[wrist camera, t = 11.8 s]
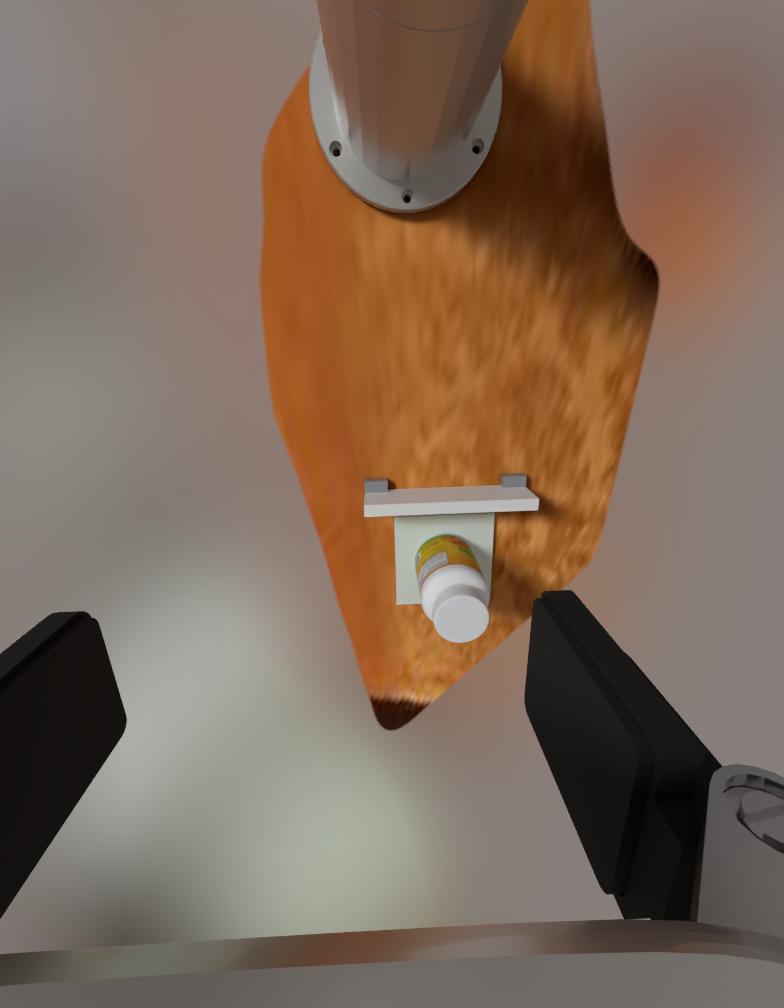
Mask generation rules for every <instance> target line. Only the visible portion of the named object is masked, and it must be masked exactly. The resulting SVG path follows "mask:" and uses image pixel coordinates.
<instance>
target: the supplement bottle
mask: <svg viewBox="0 0 784 1008" xmlns="http://www.w3.org/2000/svg"><path fill="white" fill-rule="evenodd" d="M415 569H416V575H417V581H418V587H419V593H420V600H421V604H422V607H423V610H424V612H425V614H426V615H427V616H428V618H429V619H430V620H431V621H433V622H434V625H435V628H436V630H437V632H438V633H439V634H440V635H441V636H442V637H443V638H444V639H446V640H448V641H451V642H456V643H464V642H469V641H472V640H474V639H476V638H477V637H479V636H480V635H481V634H482V633H483V632H484V631H485V629H486V628H487V625H488V622H489V612H488V609H487V607H488V604H489V589H488V585H487V583H486V580H485V578H484V576H483V574H482V572H481V570H480V567H479V565H478V563H477V561H476V559H475V556H474V554H473V552H472V550H471V548H470V546H469V545H468V543H467V542H466V541H465V540H464V539H462V538H461V537H459V536H457V535H454V534H450V533H440V534H436V535H433V536H431V537H429V538H427V539H426V540H425V541H424V542H423V543H422V544H421V545H420V546H419V548H418V550H417V552H416V556H415Z"/></svg>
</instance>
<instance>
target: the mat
mask: <svg viewBox="0 0 784 1008" xmlns="http://www.w3.org/2000/svg"><path fill="white" fill-rule="evenodd" d="M494 516H495V513H494V512H481V513H455V514H430V515H404V516H394V524H395V560H396V596H397V605H400V604H421V600H420V593H419V587H418V581H417V575H416V569H415V556H416V552H417V550H418V548H419V546H420V545H421V544H422V543H423V542H424V541H425V540H426V539H427V538H429V537H431V536H433V535H436V534H440V533H450V534H454V535H457V536H459V537H461V538H462V539H464V540H465V541H466V542H467V543H468V545H469V546H470V548H471V550H472V552H473V554H474V556H475V559H476V561H477V563H478V565H479V567H480V570H481V572H482V574H483V576H484V578H485V580H486V583H487V585H488V589H489V601H490V589H491V571H492V552H493V534H494Z"/></svg>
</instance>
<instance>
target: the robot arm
mask: <svg viewBox="0 0 784 1008" xmlns="http://www.w3.org/2000/svg"><path fill="white" fill-rule="evenodd" d="M527 3H528V0H317V6H318V12H319V18H320V24H321V28H320V31H319V34H318V37H317V40H316V44H315V46H314V49H313V54H312V60H311V66H310V73H309V101H310V107H311V114H312V121H313V125H314V128H315V132H316V136H317V139H318V141H319V144H320V146H321V149H322V151H323V154H324V156H325V158H326V160H327V162H328V163H329V165H330V167H331V168H332V170H333V172H334V173H335V175H336V176H337V177H338V178H339V179H340V181H341V182H342V183H343V184H344V185H345V186H346V188H347V189H348V190H350V191H351V192H352V193H353V194H355V195H356V196H357V197H358V198H360V199H361V200H362V201H364V202H366V203H368V204H370V205H372V206H374V207H376V208H378V209H382V210H386V211H389V212H393V213H416V212H421V211H427V210H430V209H432V208H434V207H437V206H439V205H441V204H444V203H445V202H446V201H448V200H449V199H451V198H452V197H454V196H455V195H456V194H458V193H459V192H460V191H461V190H462V189H463V188H464V187H465V186H466V185H467V184H468V183H469V182H470V181H471V179H472V178H473V176H474V175H475V174H476V172H477V171H478V169H479V168H480V166H481V165H482V163H483V161H484V159H485V158H486V156H487V154H488V152H489V150H490V147H491V144H492V142H493V139H494V136H495V133H496V131H497V127H498V122H499V117H500V112H501V107H502V85H503V83H502V74H501V63H502V61H503V58H504V56H505V54H506V51H507V49H508V47H509V44H510V42H511V40H512V37H513V35H514V33H515V31H516V28H517V26H518V24H519V21H520V19H521V17H522V14H523V12H524V10H525V7H526V5H527ZM474 148H476V149H477V150H478V154H475V153H474V152H473V151H472V149H474ZM335 151H339V152H340V156H337V157H335V156H334V155H333V153H334V152H335ZM406 196H407V197H409V198H410V200H411V201H410V202H409V203H405V202H404V200H403V199H404V197H406ZM525 707H526V712H527V715H528V717H529V719H530V722H531V724H532V727H533V729H534V732H535V734H536V736H537V738H538V741H539V743H540V746H541V748H542V750H543V753H544V755H545V757H546V760H547V762H548V765H549V766H550V769H551V772H552V774H553V776H554V779H555V781H556V784H557V786H558V788H559V790H560V793H561V795H562V798H563V800H564V803H565V805H566V807H567V809H568V812H569V814H570V817H571V819H572V821H573V824H574V826H575V829H576V831H577V833H578V836H579V838H580V840H581V843H582V845H583V848H584V850H585V852H586V854H587V857H588V859H589V862H590V864H591V866H592V869H593V871H594V874H595V876H596V878H597V880H598V882H599V885H600V887H601V888H602V890H603V891H604V892H605V893H606V894H613V895H614V897H615V899H616V902H617V904H618V906H619V908H620V911H621V913H622V915H623V917H624V919H617V920H590V921H560V922H534V923H505V924H504V923H503V924H485V925H468V926H449V927H432V928H415V929H398V930H382V931H381V930H380V931H361V932H344V933H325V934H308V935H292V936H277V937H260V938H244V939H227V940H212V941H196V942H181V943H164V944H148V945H135V946H134V945H132V946H117V947H101V948H85V949H71V950H58V951H57V950H56V951H42V952H27V953H13V954H0V1008H784V778H783V777H781V776H779V775H777V774H775V773H773V772H770V771H767V770H764V769H761V768H757V767H755V766H747V765H740V764H735V765H728V766H723V767H722V765H721V764H720V763H719V762H718V761H717V759H716V758H715V757H714V756H713V755H712V754H711V752H710V751H709V750H708V749H707V748H706V747H705V745H704V744H703V743H702V742H701V741H700V739H699V738H698V737H697V736H696V735H695V734H694V732H693V731H692V730H691V729H690V728H689V726H688V725H687V724H686V723H685V722H684V720H683V719H682V718H681V717H680V716H679V714H678V713H677V712H676V711H675V710H674V708H673V707H672V706H671V705H670V704H669V703H668V702H667V700H666V699H665V698H664V697H663V695H662V694H661V693H660V692H659V691H658V690H657V688H656V687H655V686H654V685H653V684H652V682H651V681H650V680H649V679H648V678H647V677H646V675H645V674H644V673H643V672H642V671H641V669H640V668H639V667H638V666H637V665H636V663H635V662H634V661H633V660H632V659H631V658H630V657H629V656H628V655H627V654H626V653H625V652H623V651H622V649H620V647H619V646H618V645H617V643H616V642H615V641H614V640H613V639H612V637H611V636H610V635H609V634H608V633H607V631H606V630H605V629H604V628H603V627H602V625H600V623H599V622H598V621H597V620H596V618H595V617H594V616H593V615H592V614H591V612H590V611H589V610H588V609H587V608H586V606H585V605H584V604H583V603H582V602H581V600H580V599H579V598H578V597H577V596H576V594H575V593H574V592H573V591H570V590H566V591H565V590H562V591H544V592H543V593H542V596H541V598H536V599H535V600H534V602H533V611H532V622H531V632H530V643H529V654H528V664H527V676H526V685H525ZM126 721H127V718H126V713H125V710H124V707H123V703H122V700H121V697H120V693H119V690H118V686H117V683H116V680H115V676H114V673H113V670H112V666H111V663H110V660H109V656H108V653H107V650H106V646H105V643H104V639H103V636H102V633H101V630H100V626H99V623H98V621H97V620H96V619H94V618H91V616H90V615H89V614H88V613H87V612H84V611H78V612H57V613H52V614H50V615H49V616H47V617H46V618H45V619H44V620H42V621H41V622H40V623H38V624H37V625H36V626H35V627H33V628H32V629H31V630H30V631H28V632H27V633H26V634H25V635H23V636H22V637H21V638H20V639H18V640H17V641H16V642H15V643H13V644H12V645H11V646H10V647H8V648H7V649H6V650H5V651H3V652H2V653H1V654H0V918H1V917H2V916H3V914H4V913H5V911H6V909H7V908H8V907H9V905H10V904H11V902H12V901H13V899H14V898H15V896H16V894H17V893H18V892H19V890H20V889H21V887H22V885H23V884H24V883H25V881H26V880H27V878H28V876H29V875H30V873H31V872H32V870H33V869H34V867H35V866H36V864H37V863H38V861H39V860H40V858H41V857H42V855H43V854H44V852H45V851H46V849H47V848H48V846H49V845H50V843H51V842H52V840H53V839H54V837H55V836H56V834H57V833H58V831H59V830H60V828H61V827H62V825H63V824H64V822H65V821H66V819H67V818H68V816H69V815H70V813H71V812H72V810H73V809H74V807H75V806H76V804H77V803H78V801H79V800H80V798H81V797H82V795H83V794H84V792H85V791H86V789H87V788H88V786H89V785H90V783H91V782H92V780H93V779H94V777H95V776H96V774H97V773H98V771H99V770H100V768H101V767H102V765H103V764H104V762H105V761H106V759H107V758H108V756H109V755H110V753H111V752H112V750H113V749H114V747H115V746H116V744H117V743H118V741H119V740H120V738H121V737H122V735H123V733H124V731H125V727H126ZM641 918H642V919H643V918H650V919H651V920H630V919H641Z"/></svg>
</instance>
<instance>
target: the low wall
mask: <svg viewBox="0 0 784 1008" xmlns="http://www.w3.org/2000/svg"><path fill="white" fill-rule="evenodd" d="M526 479H527V476H526V475H525V474H524V473H522V474H501V485H492V486H465V487H438V488H410V489H388V478H385V479H365V481H364V484H365V499H364V515H365V517H378V516H404V515H430V514H455V513H481V512H507V511H533V510H538V505H539V498H538V497H537V496H536V495H534V494H533V493H532V492H531V491H530V490H529V489H528V488H526Z"/></svg>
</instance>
